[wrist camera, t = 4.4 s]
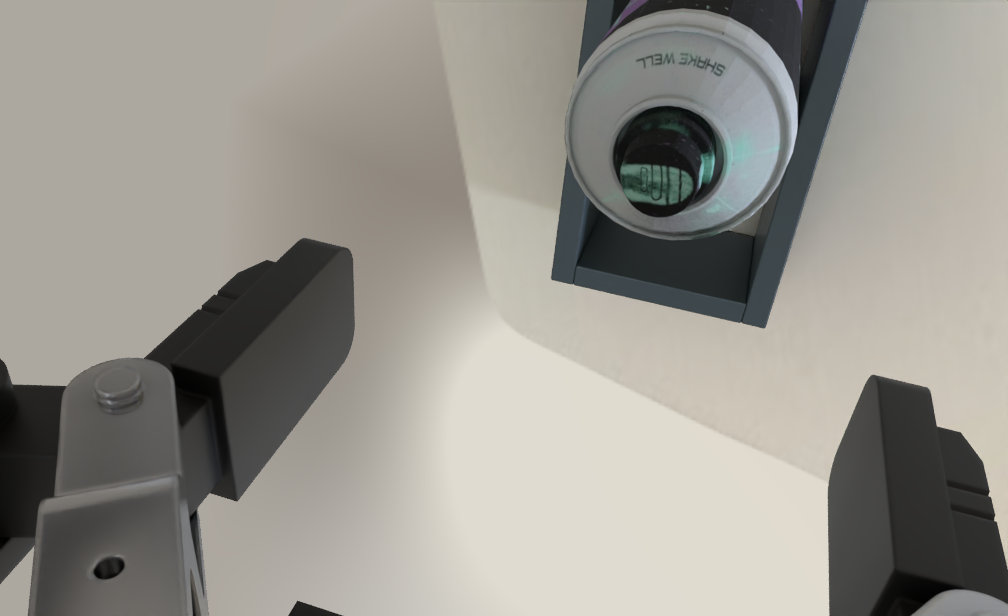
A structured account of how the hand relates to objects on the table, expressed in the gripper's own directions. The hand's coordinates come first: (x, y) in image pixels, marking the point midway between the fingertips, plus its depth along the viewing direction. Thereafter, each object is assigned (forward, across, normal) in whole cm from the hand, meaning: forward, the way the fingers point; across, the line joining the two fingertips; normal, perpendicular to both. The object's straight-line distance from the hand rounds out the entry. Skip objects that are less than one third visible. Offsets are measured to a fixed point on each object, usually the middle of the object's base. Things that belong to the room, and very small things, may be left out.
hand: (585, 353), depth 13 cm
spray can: (+26, 0, 0) cm, 26 cm away
